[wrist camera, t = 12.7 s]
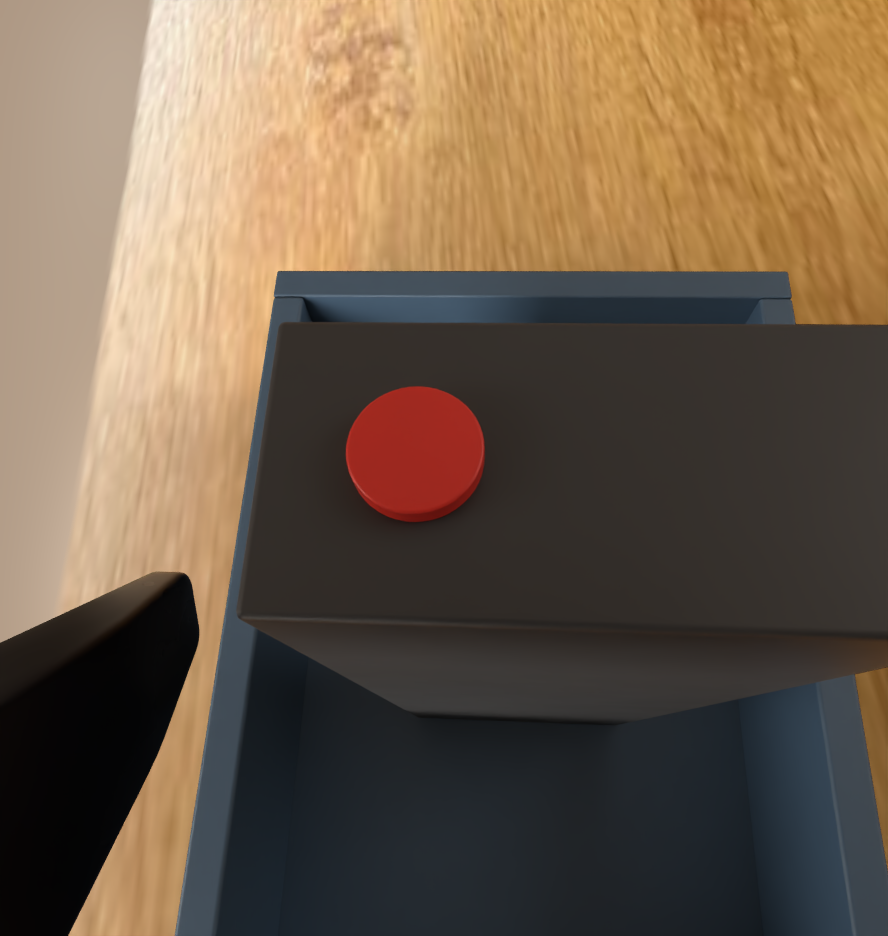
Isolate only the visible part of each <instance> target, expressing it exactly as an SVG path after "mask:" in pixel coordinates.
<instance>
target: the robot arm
mask: <svg viewBox="0 0 888 936" xmlns="http://www.w3.org/2000/svg"><path fill="white" fill-rule="evenodd" d="M198 641H199V624H198V618H197V613H196V607H195V601H194V595H193V589H192V584H191V581H190V579H189V577H188V576H187V575H186V574H184V573H180V572H153V573H150V574H148V575H146V576H144V577H142V578H139V579H137V580H135V581H133V582H131V583H129V584H126V585H124V586H122V587H120V588H118V589H116V590H114V591H111V592H109V593H107V594H105V595H103V596H101V597H98V598H96V599H94V600H92V601H90V602H88V603H85V604H83V605H81V606H79V607H77V608H75V609H72V610H70V611H68V612H66V613H64V614H62V615H60V616H57V617H55V618H53V619H51V620H49V621H47V622H44V623H42V624H40V625H38V626H36V627H34V628H32V629H30V630H27V631H25V632H23V633H21V634H19V635H16V636H14V637H12V638H10V639H8V640H6V641H3V642H1V643H0V936H68V935H69V933H70V931H71V929H72V927H73V925H74V923H75V921H76V919H77V917H78V915H79V913H80V911H81V909H82V907H83V905H84V903H85V901H86V899H87V897H88V895H89V893H90V891H91V889H92V887H93V885H94V882H95V880H96V878H97V876H98V874H99V872H100V870H101V868H102V866H103V864H104V862H105V860H106V858H107V856H108V854H109V852H110V850H111V848H112V846H113V844H114V842H115V840H116V838H117V836H118V834H119V832H120V830H121V828H122V826H123V824H124V822H125V820H126V818H127V816H128V814H129V812H130V810H131V808H132V806H133V804H134V802H135V800H136V798H137V796H138V794H139V792H140V790H141V788H142V786H143V784H144V782H145V780H146V778H147V776H148V774H149V772H150V769H151V767H152V765H153V763H154V761H155V759H156V756H157V754H158V752H159V749H160V747H161V744H162V742H163V739H164V737H165V734H166V731H167V729H168V726H169V723H170V721H171V718H172V715H173V712H174V710H175V707H176V704H177V701H178V699H179V696H180V693H181V690H182V688H183V685H184V682H185V679H186V677H187V674H188V671H189V668H190V666H191V663H192V660H193V657H194V655H195V652H196V649H197V646H198Z"/></svg>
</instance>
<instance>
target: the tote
mask: <svg viewBox="0 0 888 936" xmlns="http://www.w3.org/2000/svg"><path fill="white" fill-rule="evenodd" d="M274 297H275V299H274V301H273V308H272V314H271V320H270V327H269V333H268V340H267V346H266V353H265V359H264V365H263V372H262V378H261V385H260V391H259V398H258V404H257V410H256V417H255V423H254V430H253V436H252V443H251V449H250V455H249V462H248V468H247V475H246V481H245V488H244V494H243V500H242V507H241V513H240V520H239V526H238V533H237V539H236V545H235V552H234V558H233V565H232V571H231V578H230V584H229V590H228V597H227V603H226V610H225V616H224V623H223V629H222V635H221V642H220V648H219V655H218V661H217V668H216V674H215V680H214V687H213V693H212V700H211V706H210V713H209V719H208V725H207V732H206V738H205V745H204V751H203V758H202V764H201V770H200V777H199V783H198V790H197V796H196V803H195V809H194V815H193V822H192V828H191V835H190V841H189V848H188V854H187V860H186V867H185V873H184V880H183V886H182V893H181V899H180V905H179V912H178V918H177V925H176V931H175V936H888V871H887V865H886V859H885V853H884V847H883V841H882V835H881V829H880V823H879V817H878V811H877V805H876V799H875V793H874V787H873V781H872V775H871V769H870V763H869V758H868V752H867V746H866V740H865V734H864V728H863V722H862V716H861V710H860V704H859V698H858V692H857V686H856V680H855V674H853V675H849V676H844V677H839V678H835V679H830V680H825V681H821V682H816V683H811V684H807V685H802V686H797V687H793V688H788V689H783V690H779V691H774V692H769V693H765V694H760V695H755V696H751V697H746V698H741V699H736V700H732V701H727V702H722V703H718V704H713V705H708V706H704V707H699V708H694V709H690V710H685V711H680V712H676V713H671V714H666V715H662V716H657V717H652V718H648V719H643V720H638V721H634V722H629V723H624V724H620V725H591V724H566V723H541V722H517V721H492V720H467V719H442V718H419V717H417V716H415V715H413V714H411V713H409V712H408V711H406V710H404V709H402V708H400V707H399V706H397V705H395V704H393V703H391V702H389V701H388V700H386V699H384V698H382V697H380V696H379V695H377V694H375V693H373V692H371V691H369V690H368V689H366V688H364V687H362V686H360V685H359V684H357V683H355V682H353V681H351V680H349V679H348V678H346V677H344V676H342V675H340V674H339V673H337V672H335V671H333V670H331V669H329V668H328V667H326V666H324V665H322V664H320V663H319V662H317V661H315V660H313V659H311V658H309V657H308V656H306V655H304V654H302V653H300V652H298V651H297V650H295V649H293V648H291V647H289V646H288V645H286V644H284V643H282V642H280V641H278V640H277V639H275V638H273V637H271V636H269V635H268V634H266V633H264V632H262V631H260V630H258V629H257V628H255V627H253V626H251V625H249V624H248V623H246V622H244V621H242V620H240V619H238V617H237V613H236V608H237V601H238V595H239V588H240V581H241V574H242V568H243V561H244V554H245V548H246V541H247V534H248V527H249V521H250V514H251V507H252V501H253V494H254V487H255V480H256V474H257V467H258V460H259V453H260V447H261V440H262V433H263V427H264V420H265V413H266V406H267V400H268V393H269V386H270V380H271V373H272V366H273V359H274V353H275V346H276V339H277V333H278V328H279V326H280V324H281V323H284V322H404V323H613V324H796V323H795V317H794V311H793V305H792V301H791V300H790V299H791V297H792V295H791V289H790V283H789V277H788V273H787V272H608V271H278V272H277V278H276V285H275V291H274Z"/></svg>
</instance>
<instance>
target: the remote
mask: <svg viewBox="0 0 888 936" xmlns="http://www.w3.org/2000/svg"><path fill="white" fill-rule="evenodd" d="M236 613H237V617H238V619H240V620H242V621H244V622H246V623H248V624H249V625H251V626H253V627H255V628H257V629H258V630H260V631H262V632H264V633H266V634H268V635H269V636H271V637H273V638H275V639H277V640H278V641H280V642H282V643H284V644H286V645H288V646H289V647H291V648H293V649H295V650H297V651H298V652H300V653H302V654H304V655H306V656H308V657H309V658H311V659H313V660H315V661H317V662H319V663H320V664H322V665H324V666H326V667H328V668H329V669H331V670H333V671H335V672H337V673H339V674H340V675H342V676H344V677H346V678H348V679H349V680H351V681H353V682H355V683H357V684H359V685H360V686H362V687H364V688H366V689H368V690H369V691H371V692H373V693H375V694H377V695H379V696H380V697H382V698H384V699H386V700H388V701H389V702H391V703H393V704H395V705H397V706H399V707H400V708H402V709H404V710H406V711H408V712H409V713H411V714H413V715H415V716H417V717H419V718H442V719H467V720H492V721H517V722H541V723H566V724H591V725H620V724H624V723H629V722H634V721H638V720H643V719H648V718H652V717H657V716H662V715H666V714H671V713H676V712H680V711H685V710H690V709H694V708H699V707H704V706H708V705H713V704H718V703H722V702H727V701H732V700H736V699H741V698H746V697H751V696H755V695H760V694H765V693H769V692H774V691H779V690H783V689H788V688H793V687H797V686H802V685H807V684H811V683H816V682H821V681H825V680H830V679H835V678H839V677H844V676H849V675H853V674H858V673H863V672H867V671H872V670H877V669H881V668H886V667H888V325H823V324H613V323H404V322H284V323H281V324H280V326H279V328H278V333H277V339H276V346H275V353H274V359H273V366H272V373H271V380H270V386H269V393H268V400H267V406H266V413H265V420H264V427H263V433H262V440H261V447H260V453H259V460H258V467H257V474H256V480H255V487H254V494H253V501H252V507H251V514H250V521H249V527H248V534H247V541H246V548H245V554H244V561H243V568H242V574H241V581H240V588H239V595H238V601H237V608H236Z"/></svg>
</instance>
